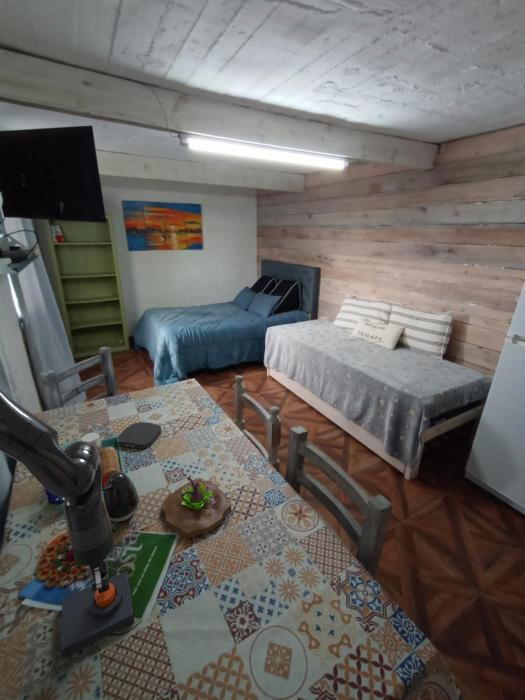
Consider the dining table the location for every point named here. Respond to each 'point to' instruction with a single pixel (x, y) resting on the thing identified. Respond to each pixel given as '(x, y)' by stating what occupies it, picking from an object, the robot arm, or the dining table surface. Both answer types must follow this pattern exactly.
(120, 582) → the push button box
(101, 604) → the lid button
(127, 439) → the media streaming box
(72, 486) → the robot arm
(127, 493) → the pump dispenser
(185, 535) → the plant
